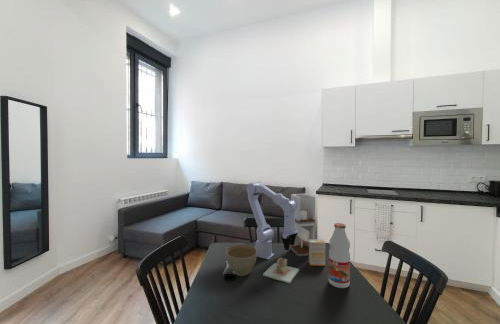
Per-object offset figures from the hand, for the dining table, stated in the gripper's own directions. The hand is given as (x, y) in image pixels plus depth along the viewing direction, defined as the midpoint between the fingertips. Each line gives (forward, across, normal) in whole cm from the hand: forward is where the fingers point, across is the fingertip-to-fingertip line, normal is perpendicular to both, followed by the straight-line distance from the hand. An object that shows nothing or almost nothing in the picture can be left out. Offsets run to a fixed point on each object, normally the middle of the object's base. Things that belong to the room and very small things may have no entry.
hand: (289, 247), depth 130 cm
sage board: (+9, -11, 0) cm, 15 cm away
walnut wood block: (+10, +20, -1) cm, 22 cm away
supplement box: (+10, +8, -13) cm, 18 cm away
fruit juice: (+10, -6, -27) cm, 29 cm away
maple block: (+8, -11, 0) cm, 14 cm away
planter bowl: (+10, -20, +18) cm, 29 cm away
